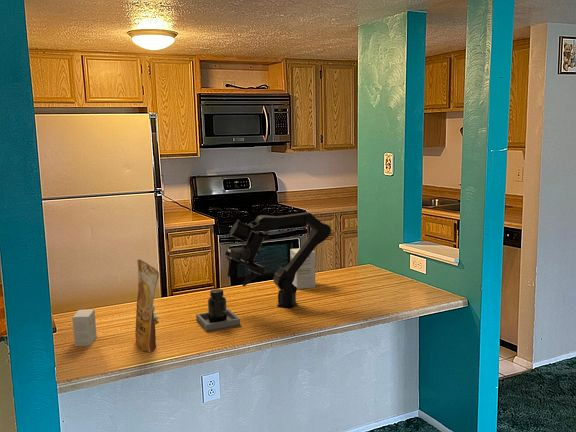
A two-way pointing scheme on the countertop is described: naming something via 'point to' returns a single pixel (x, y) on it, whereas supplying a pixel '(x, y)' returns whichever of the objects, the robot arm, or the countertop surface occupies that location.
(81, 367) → the countertop surface
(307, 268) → the supplement box
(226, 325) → the tray
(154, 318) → the pacifier
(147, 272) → the pancake mix bag
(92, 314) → the small box
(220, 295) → the supplement bottle
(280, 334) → the countertop surface
